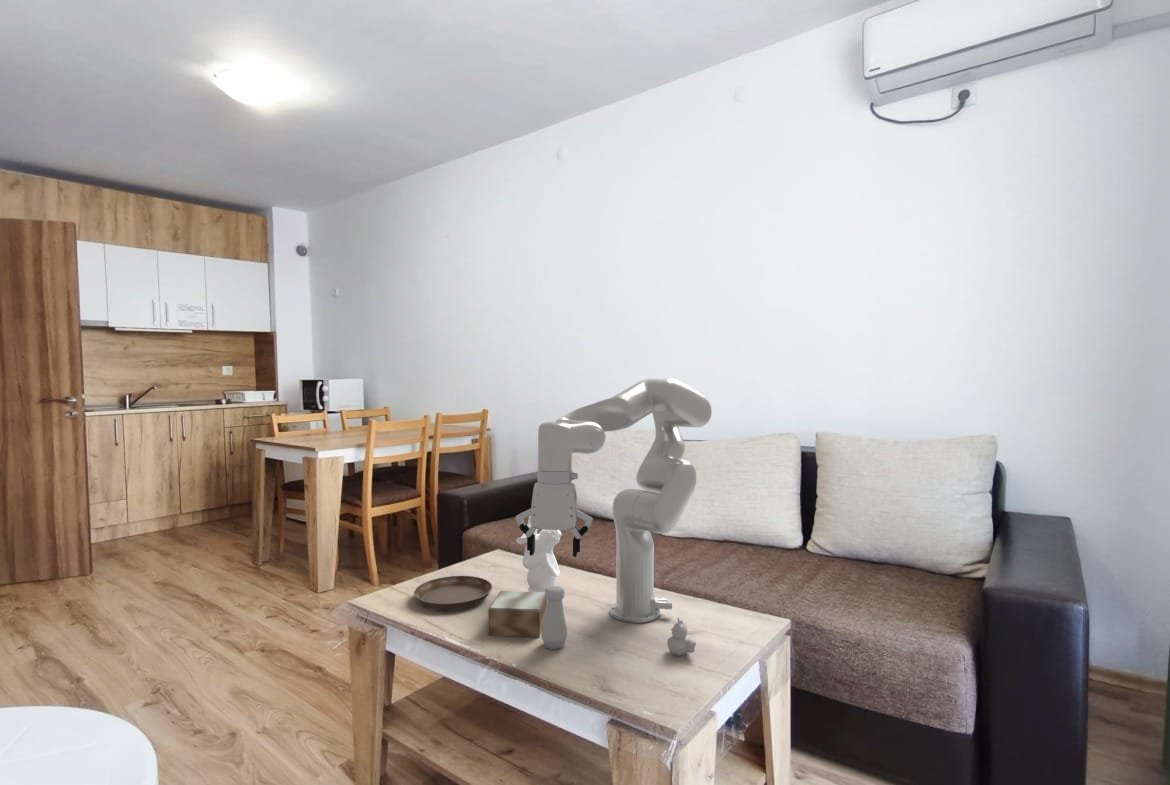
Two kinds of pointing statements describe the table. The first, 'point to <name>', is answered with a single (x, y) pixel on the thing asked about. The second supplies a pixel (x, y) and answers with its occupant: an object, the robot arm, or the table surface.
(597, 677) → the table surface
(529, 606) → the square box
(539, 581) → the cherub figurine
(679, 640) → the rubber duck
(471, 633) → the table surface
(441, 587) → the plant saucer
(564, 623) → the salt shaker
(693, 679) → the table surface
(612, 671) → the table surface
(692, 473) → the robot arm
